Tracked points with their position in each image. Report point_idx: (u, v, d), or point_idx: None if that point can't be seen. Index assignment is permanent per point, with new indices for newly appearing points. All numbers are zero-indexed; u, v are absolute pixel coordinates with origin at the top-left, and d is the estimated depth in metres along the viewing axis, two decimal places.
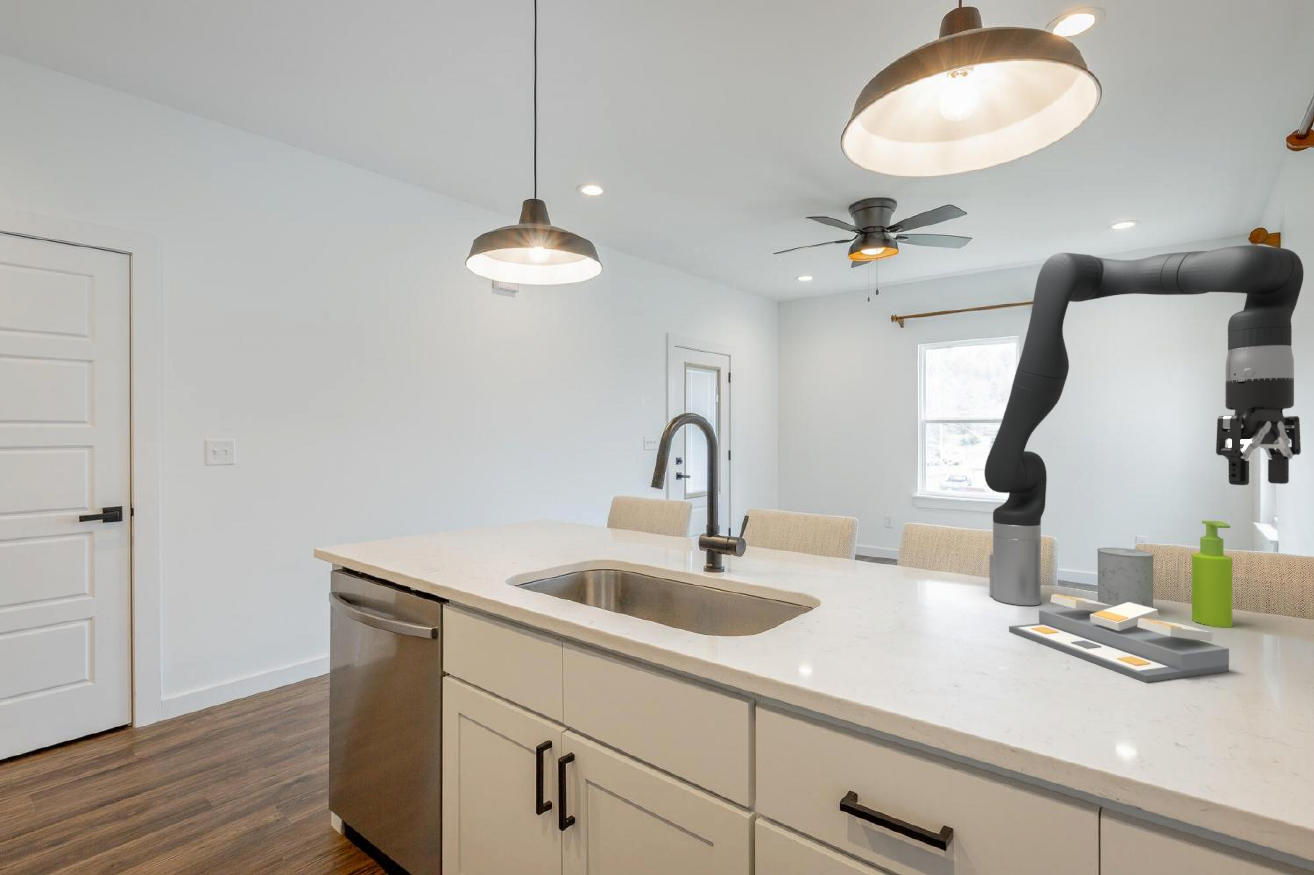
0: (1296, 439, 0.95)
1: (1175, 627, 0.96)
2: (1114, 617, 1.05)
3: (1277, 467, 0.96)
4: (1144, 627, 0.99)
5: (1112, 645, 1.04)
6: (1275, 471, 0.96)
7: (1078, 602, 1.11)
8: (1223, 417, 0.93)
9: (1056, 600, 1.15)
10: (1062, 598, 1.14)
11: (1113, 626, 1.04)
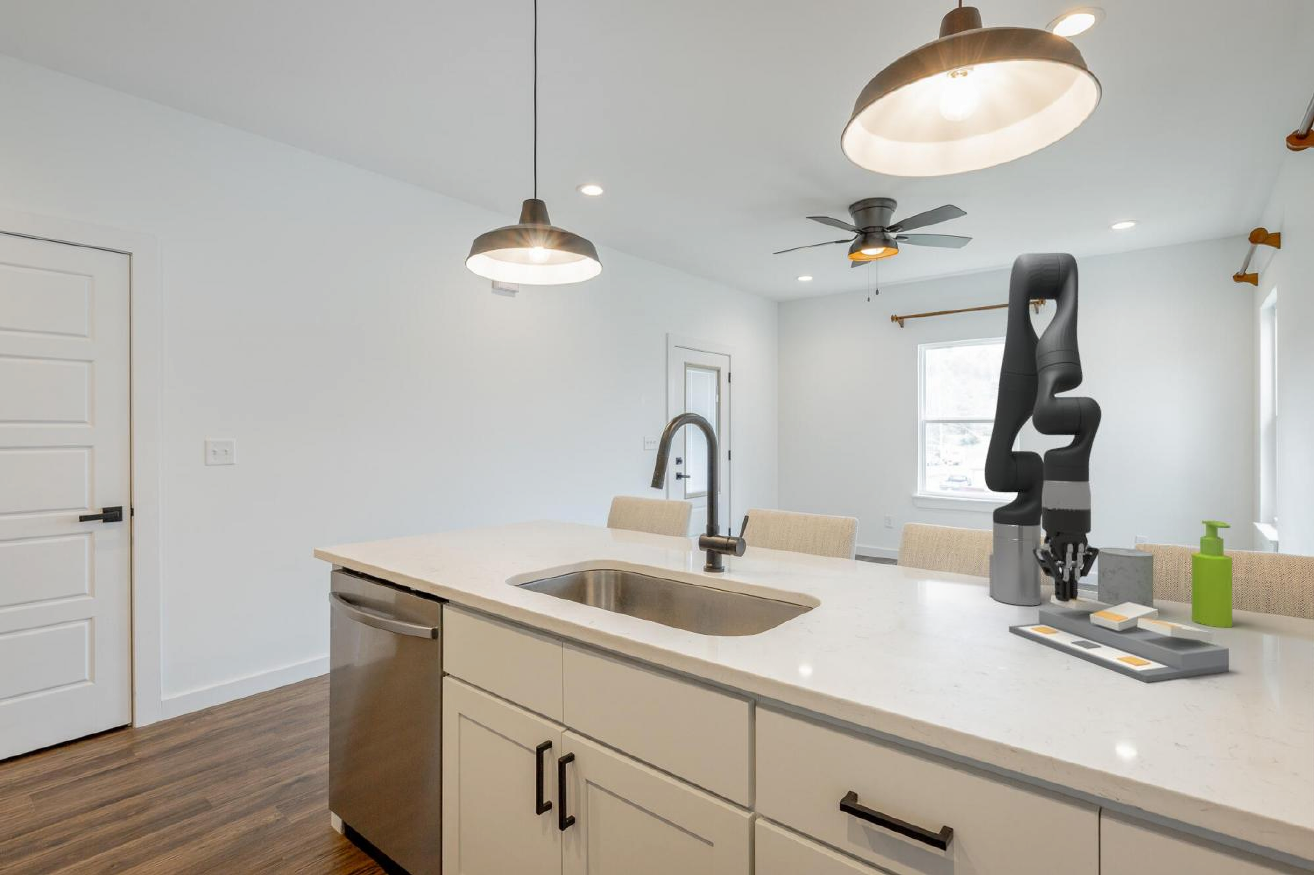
0: (1088, 564, 1.13)
1: (1175, 627, 0.96)
2: (1114, 617, 1.05)
3: None
4: (1144, 627, 0.99)
5: (1112, 645, 1.04)
6: None
7: (1078, 602, 1.11)
8: (1036, 552, 1.12)
9: (1056, 600, 1.15)
10: None
11: (1113, 626, 1.04)
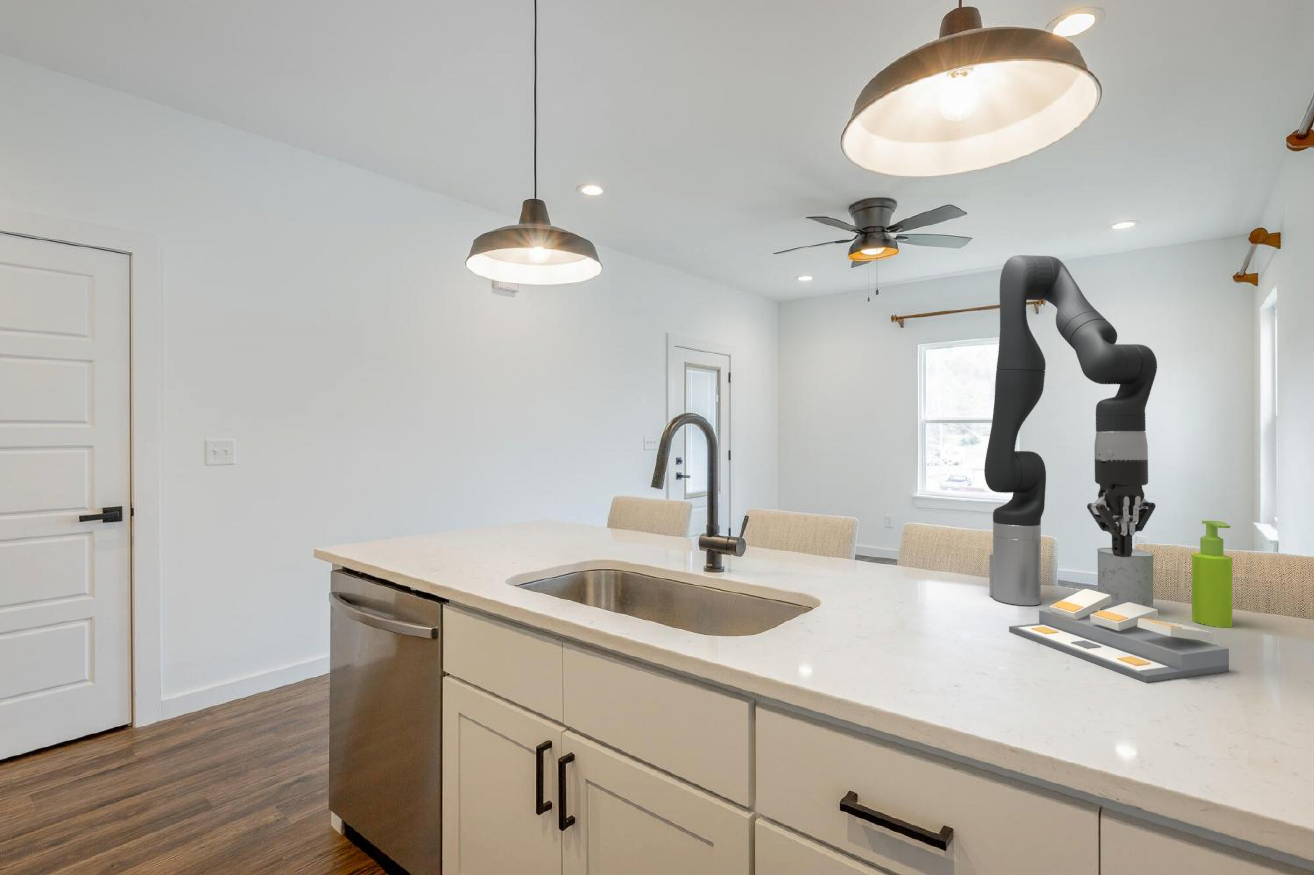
0: (1144, 518, 1.09)
1: (1175, 627, 0.96)
2: (1114, 617, 1.05)
3: None
4: (1144, 627, 0.99)
5: (1112, 645, 1.04)
6: None
7: (1076, 613, 1.11)
8: (1090, 507, 1.08)
9: (1055, 611, 1.15)
10: (1060, 610, 1.14)
11: (1113, 626, 1.04)
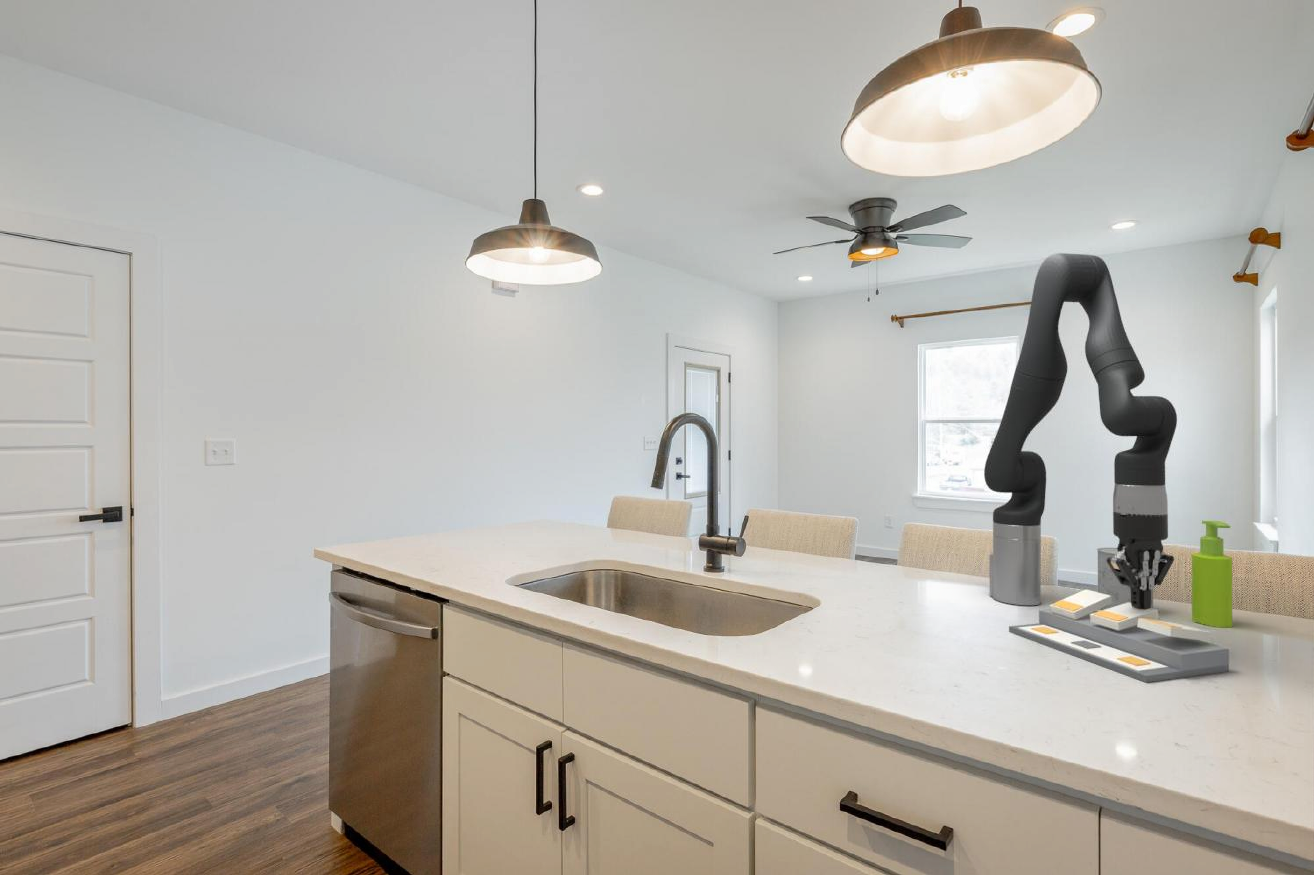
0: (1163, 572, 1.08)
1: (1175, 627, 0.96)
2: (1114, 617, 1.05)
3: None
4: (1144, 627, 0.99)
5: (1112, 645, 1.04)
6: None
7: (1076, 612, 1.11)
8: (1110, 561, 1.07)
9: (1055, 610, 1.15)
10: (1060, 609, 1.14)
11: (1113, 626, 1.04)
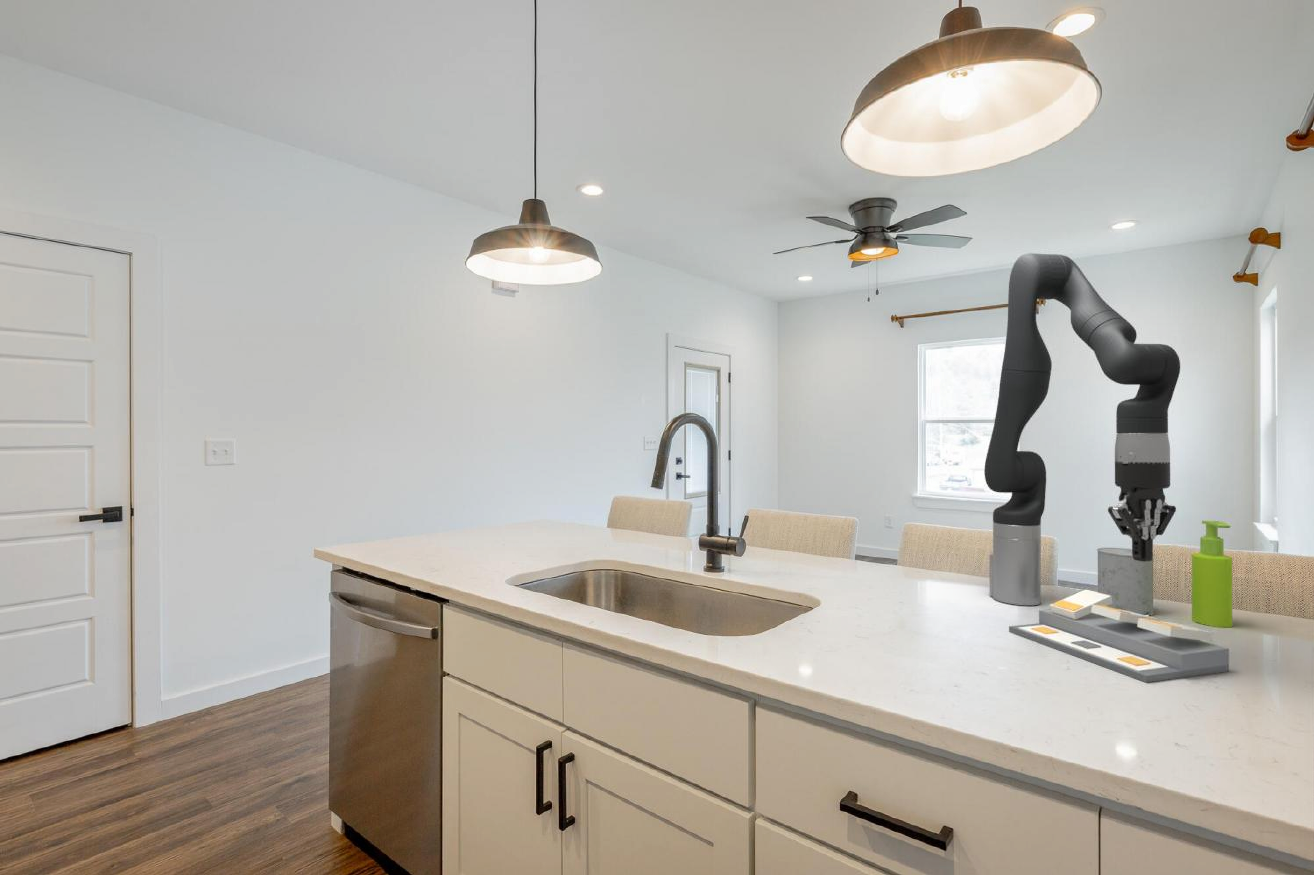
0: (1165, 522, 1.06)
1: (1175, 627, 0.96)
2: (1117, 609, 1.05)
3: None
4: (1144, 627, 0.99)
5: (1112, 645, 1.04)
6: None
7: (1076, 612, 1.11)
8: (1112, 510, 1.05)
9: (1055, 610, 1.15)
10: (1060, 609, 1.14)
11: (1114, 616, 1.04)
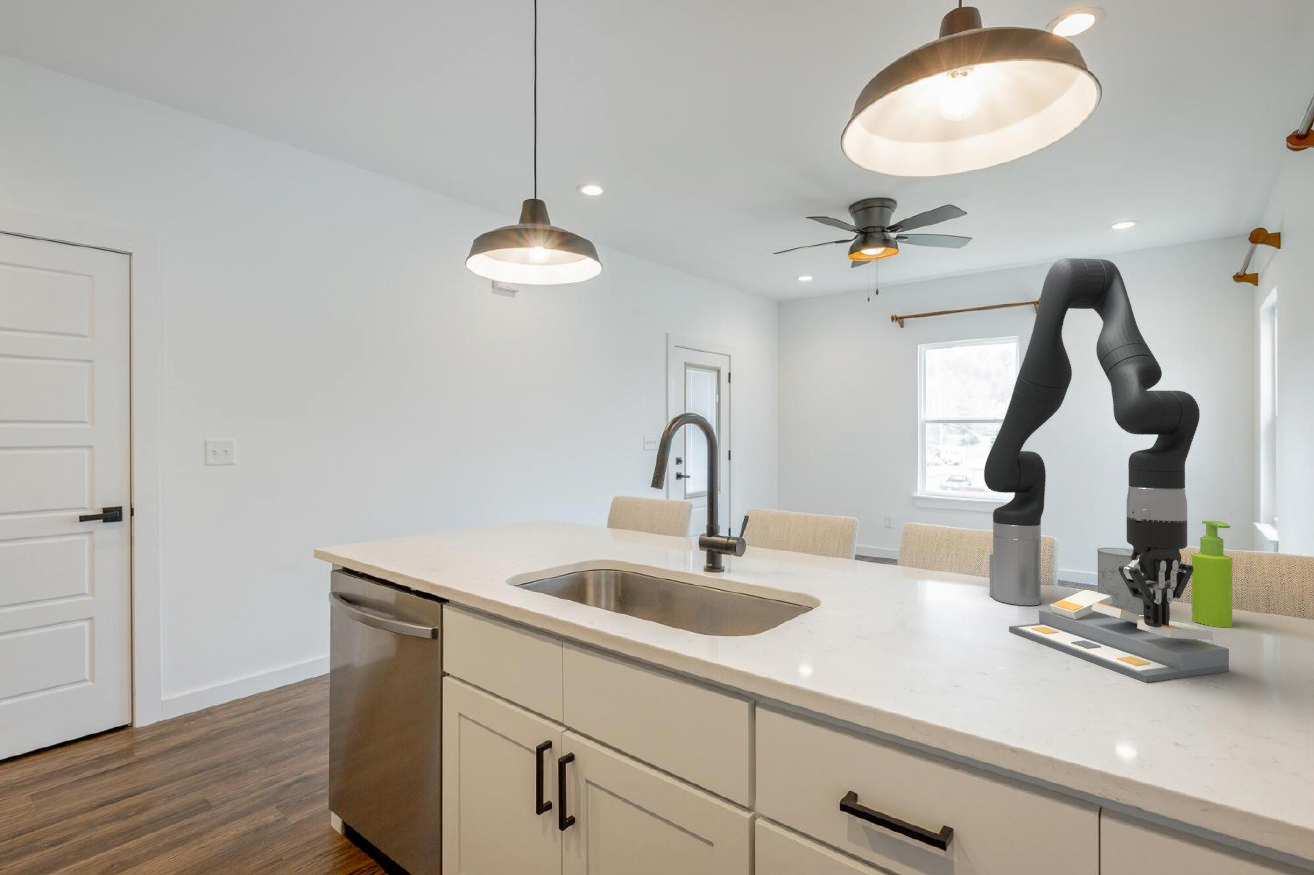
0: (1182, 584, 0.98)
1: (1175, 628, 0.96)
2: None
3: None
4: (1144, 628, 0.99)
5: (1112, 645, 1.04)
6: None
7: (1076, 612, 1.11)
8: (1123, 570, 0.97)
9: (1055, 610, 1.15)
10: (1060, 609, 1.14)
11: (1115, 613, 1.04)
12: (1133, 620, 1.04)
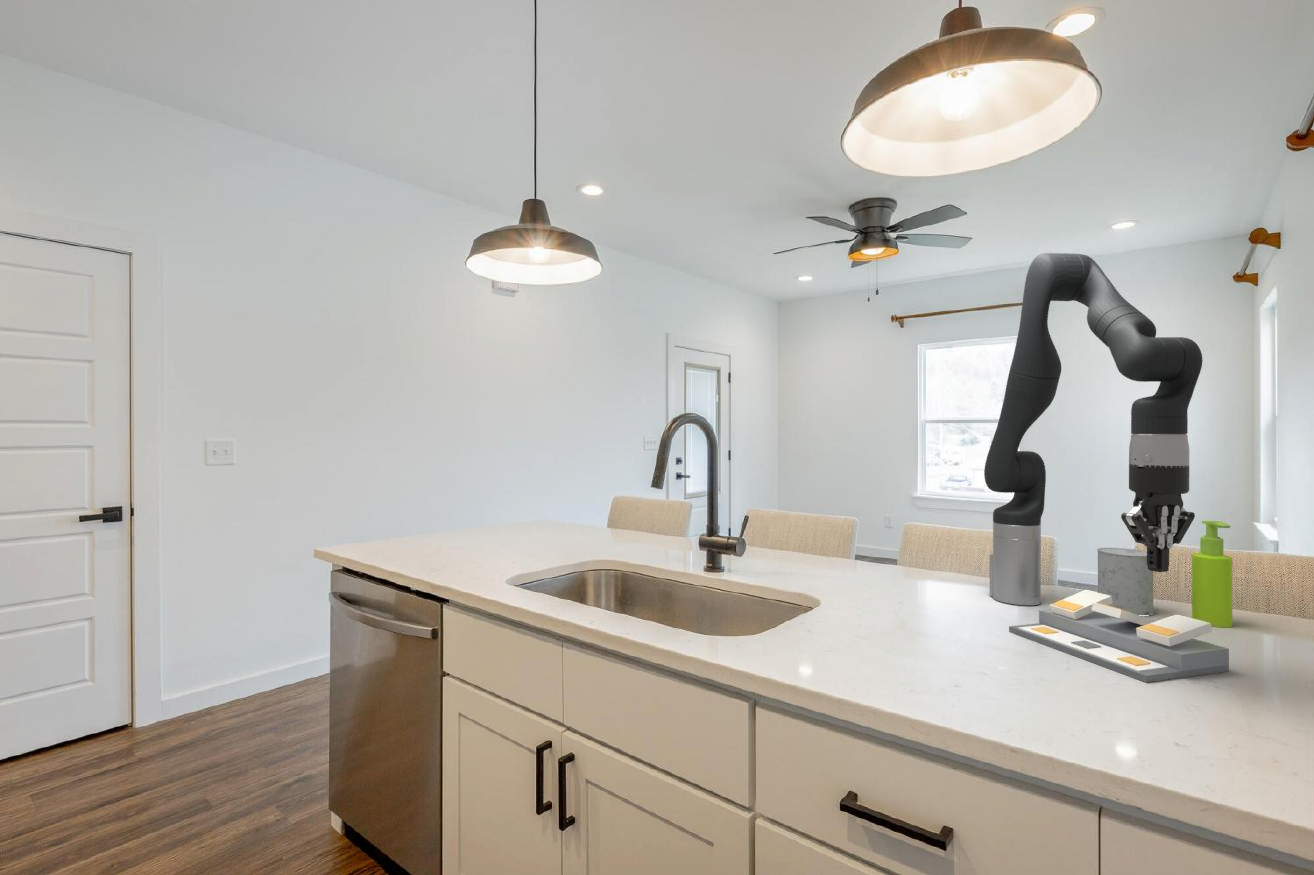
0: (1182, 529, 0.99)
1: (1173, 635, 0.96)
2: None
3: None
4: (1144, 637, 0.99)
5: (1112, 645, 1.04)
6: None
7: (1076, 612, 1.11)
8: (1125, 517, 0.98)
9: (1055, 610, 1.15)
10: (1060, 609, 1.14)
11: (1115, 613, 1.04)
12: (1133, 620, 1.04)
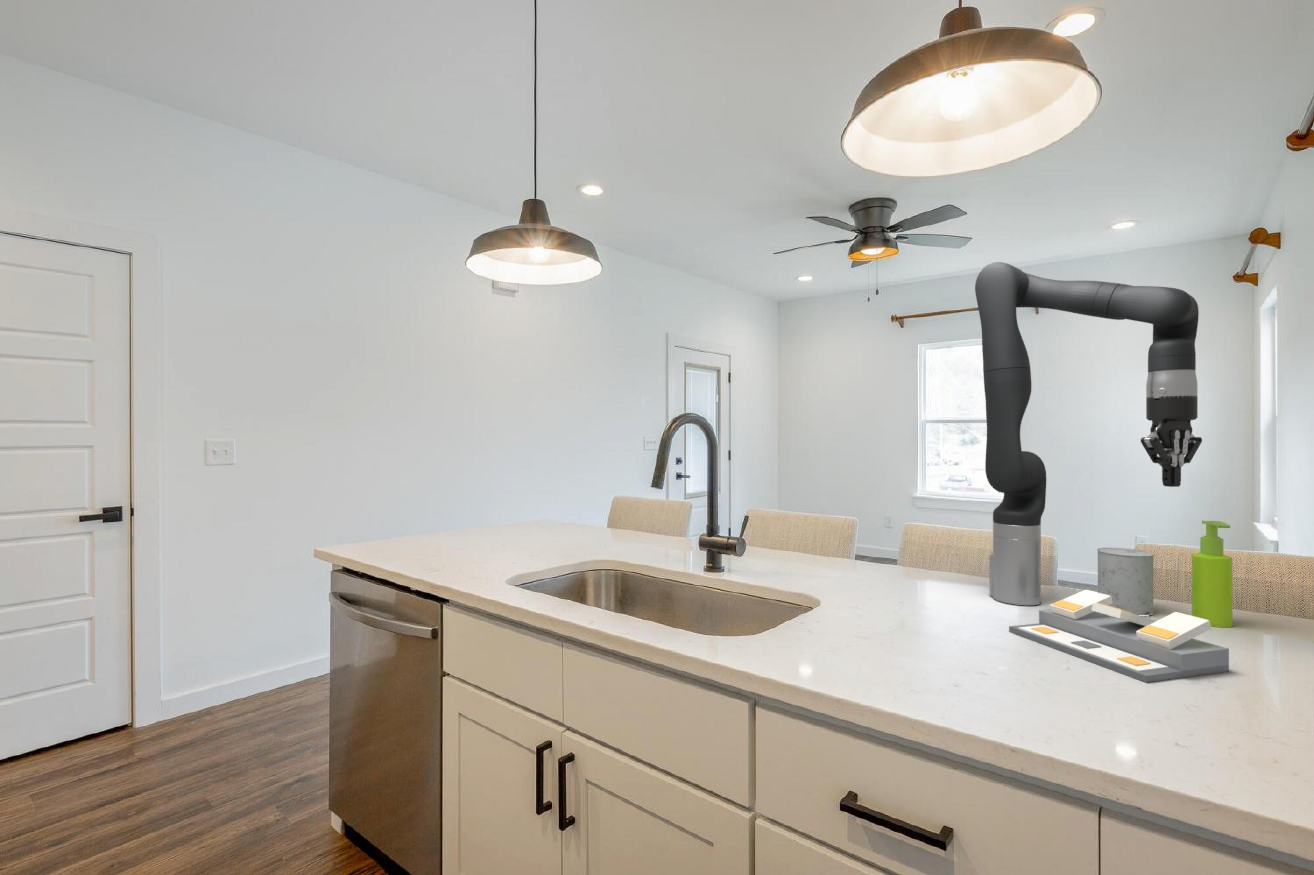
0: (1192, 451, 1.18)
1: (1172, 637, 0.96)
2: None
3: None
4: (1144, 640, 0.99)
5: (1112, 645, 1.04)
6: None
7: (1076, 612, 1.11)
8: (1144, 440, 1.17)
9: (1055, 610, 1.15)
10: (1060, 609, 1.14)
11: (1115, 613, 1.04)
12: (1133, 620, 1.04)
